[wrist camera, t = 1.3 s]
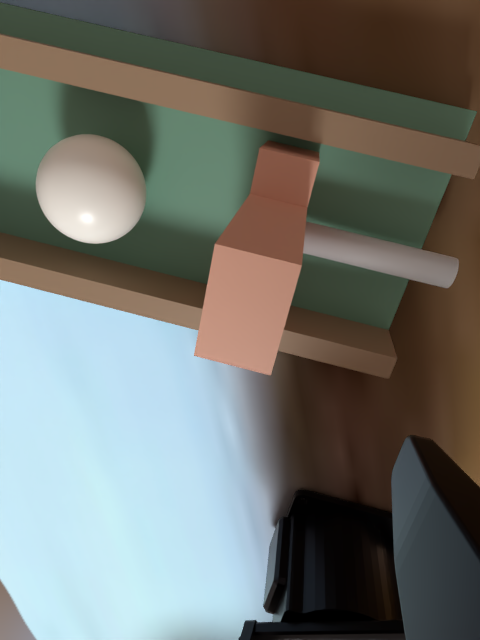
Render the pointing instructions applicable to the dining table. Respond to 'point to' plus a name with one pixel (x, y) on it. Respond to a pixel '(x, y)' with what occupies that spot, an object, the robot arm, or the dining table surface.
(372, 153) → the pitch
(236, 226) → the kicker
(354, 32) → the dining table surface
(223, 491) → the dining table surface
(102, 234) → the ball
